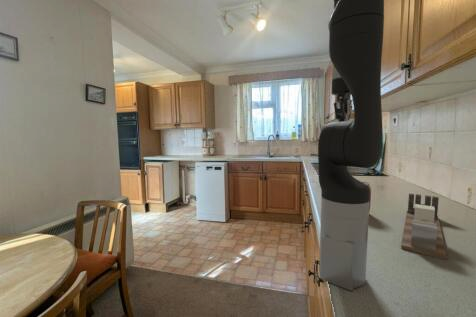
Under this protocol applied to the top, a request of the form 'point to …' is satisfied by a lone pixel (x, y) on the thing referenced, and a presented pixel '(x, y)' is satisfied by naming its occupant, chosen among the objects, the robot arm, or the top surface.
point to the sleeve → (424, 213)
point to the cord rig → (423, 230)
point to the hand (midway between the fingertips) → (342, 133)
